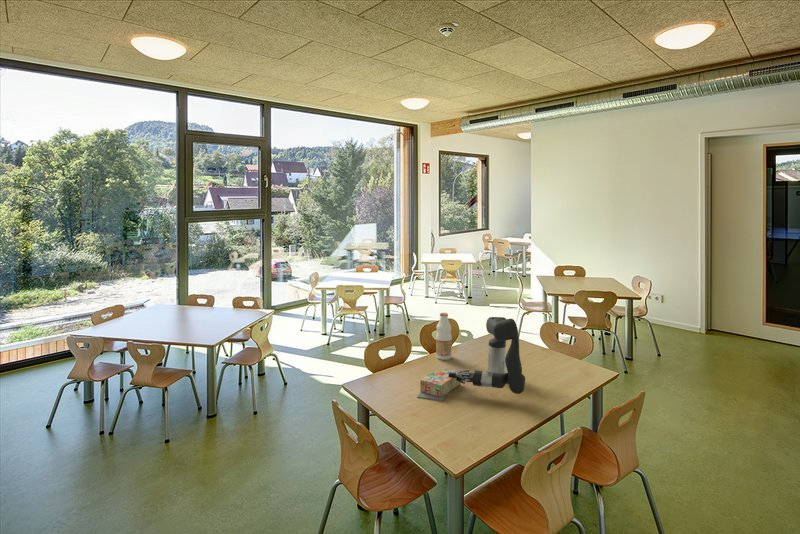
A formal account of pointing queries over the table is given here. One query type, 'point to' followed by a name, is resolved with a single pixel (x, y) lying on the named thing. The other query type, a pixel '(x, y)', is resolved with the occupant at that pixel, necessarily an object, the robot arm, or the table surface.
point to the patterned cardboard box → (438, 383)
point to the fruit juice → (443, 338)
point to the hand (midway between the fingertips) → (448, 374)
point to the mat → (431, 396)
